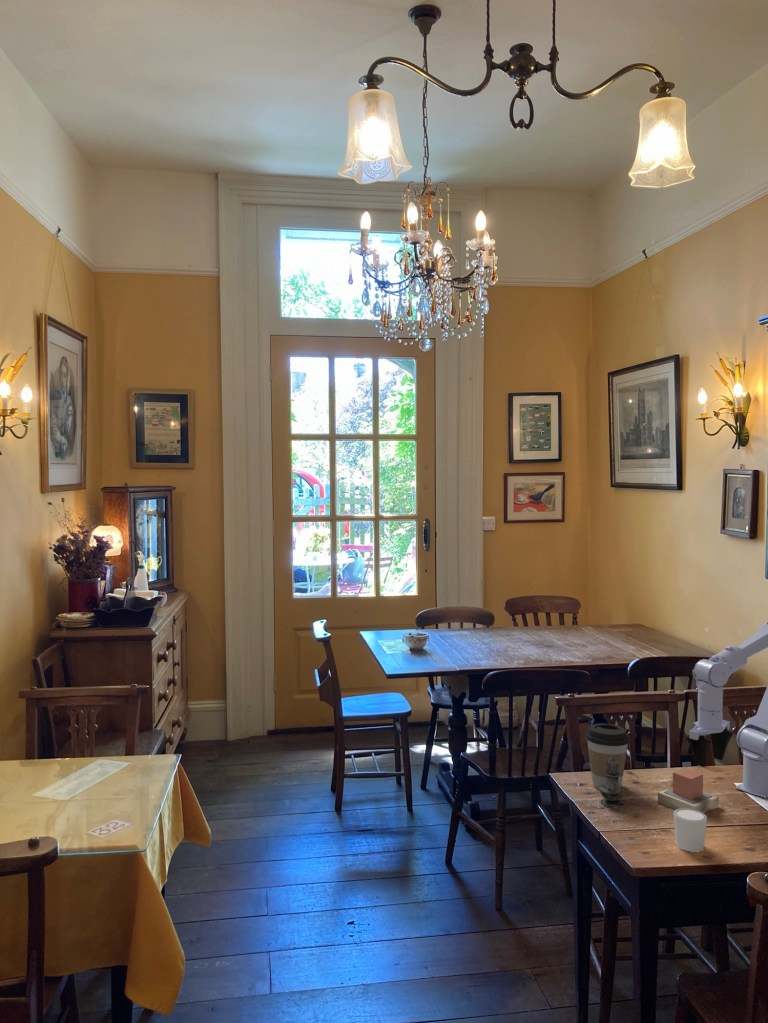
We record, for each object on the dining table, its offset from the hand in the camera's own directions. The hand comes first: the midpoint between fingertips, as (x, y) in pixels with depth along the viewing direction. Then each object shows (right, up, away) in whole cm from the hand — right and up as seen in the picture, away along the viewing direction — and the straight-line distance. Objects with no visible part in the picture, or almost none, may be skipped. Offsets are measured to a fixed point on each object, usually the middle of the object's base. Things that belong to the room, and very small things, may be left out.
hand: (709, 762), depth 186 cm
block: (-7, -7, -3) cm, 10 cm away
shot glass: (-15, -10, -25) cm, 31 cm away
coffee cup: (-23, -9, +8) cm, 26 cm away
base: (-7, -9, -3) cm, 12 cm away
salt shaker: (-25, -10, -3) cm, 27 cm away
